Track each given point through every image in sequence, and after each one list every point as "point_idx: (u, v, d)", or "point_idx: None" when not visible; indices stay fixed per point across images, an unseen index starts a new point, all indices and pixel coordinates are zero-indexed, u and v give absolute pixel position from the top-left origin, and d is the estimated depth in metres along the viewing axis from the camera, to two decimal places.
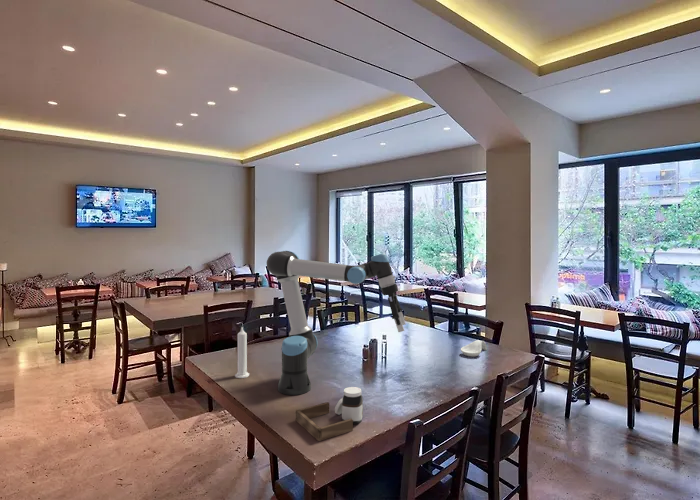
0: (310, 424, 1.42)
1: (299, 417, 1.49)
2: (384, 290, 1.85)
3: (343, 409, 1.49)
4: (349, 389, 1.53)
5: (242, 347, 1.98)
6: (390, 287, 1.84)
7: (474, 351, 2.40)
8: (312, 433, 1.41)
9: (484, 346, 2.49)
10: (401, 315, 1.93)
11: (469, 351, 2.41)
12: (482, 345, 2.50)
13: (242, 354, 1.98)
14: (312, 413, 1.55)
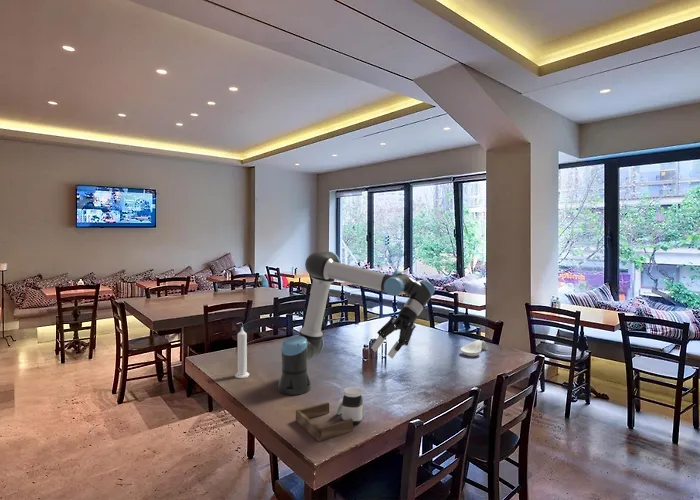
0: (310, 424, 1.42)
1: (299, 417, 1.49)
2: (411, 312, 1.66)
3: (343, 409, 1.49)
4: (349, 389, 1.53)
5: (242, 347, 1.98)
6: (416, 316, 1.68)
7: (474, 351, 2.41)
8: (312, 433, 1.41)
9: (485, 346, 2.49)
10: (381, 342, 1.69)
11: (469, 351, 2.42)
12: (483, 345, 2.50)
13: (242, 354, 1.98)
14: (312, 413, 1.55)
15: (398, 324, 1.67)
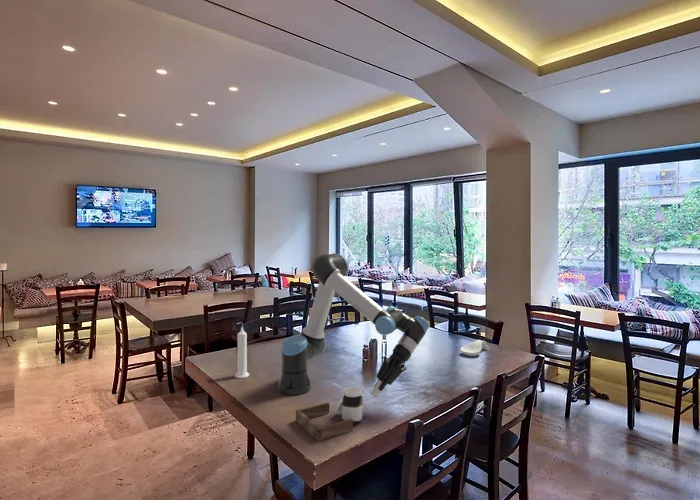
0: (310, 424, 1.42)
1: (299, 417, 1.49)
2: (404, 350, 1.65)
3: (343, 409, 1.49)
4: (349, 389, 1.53)
5: (242, 347, 1.98)
6: (410, 354, 1.66)
7: (474, 351, 2.41)
8: (312, 433, 1.41)
9: (485, 346, 2.49)
10: None
11: (469, 351, 2.42)
12: (483, 345, 2.50)
13: (242, 354, 1.98)
14: (312, 413, 1.55)
15: (392, 362, 1.66)
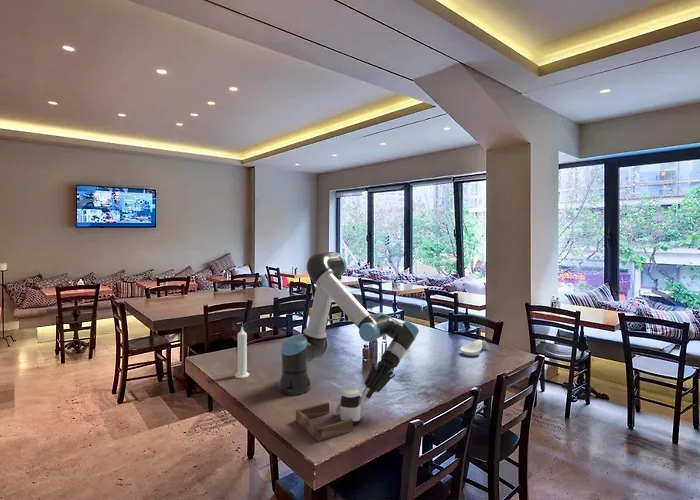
0: (310, 424, 1.42)
1: (299, 417, 1.49)
2: (393, 356, 1.61)
3: (342, 410, 1.48)
4: (347, 389, 1.53)
5: (242, 347, 1.98)
6: (399, 360, 1.62)
7: (474, 350, 2.42)
8: (312, 433, 1.41)
9: (486, 346, 2.49)
10: None
11: (469, 350, 2.43)
12: (484, 345, 2.50)
13: (242, 354, 1.98)
14: (312, 413, 1.55)
15: (380, 369, 1.62)
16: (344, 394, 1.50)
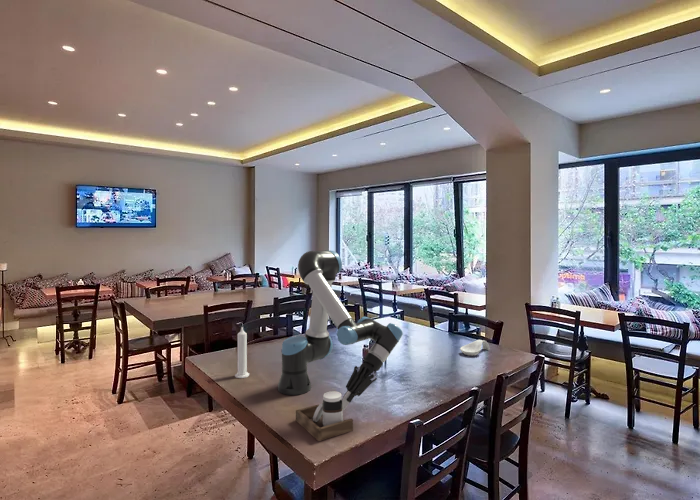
0: (310, 424, 1.42)
1: (299, 417, 1.49)
2: (375, 359, 1.57)
3: (326, 416, 1.43)
4: (328, 394, 1.48)
5: (242, 347, 1.98)
6: (381, 363, 1.58)
7: (474, 350, 2.42)
8: (312, 433, 1.41)
9: (486, 346, 2.49)
10: None
11: (469, 350, 2.43)
12: (484, 345, 2.50)
13: (242, 354, 1.98)
14: (312, 413, 1.55)
15: (362, 372, 1.58)
16: (327, 399, 1.45)
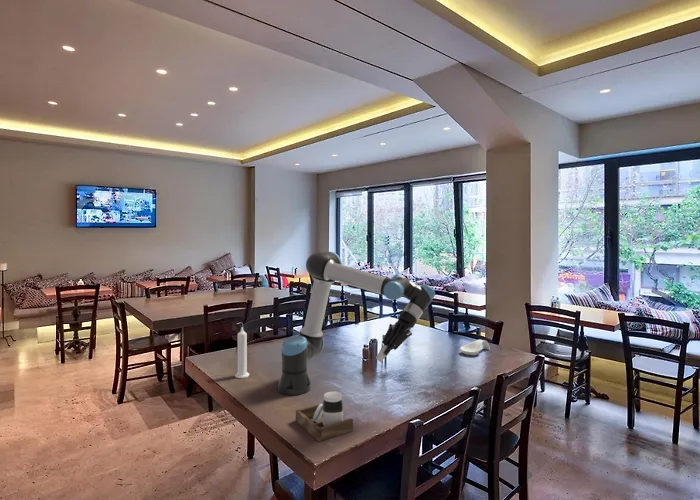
0: (310, 424, 1.42)
1: (299, 417, 1.49)
2: (410, 316, 1.66)
3: (326, 416, 1.43)
4: (329, 394, 1.48)
5: (242, 347, 1.98)
6: (415, 320, 1.67)
7: (474, 350, 2.42)
8: (312, 433, 1.41)
9: (487, 346, 2.49)
10: None
11: (469, 350, 2.44)
12: (485, 345, 2.50)
13: (242, 354, 1.98)
14: (312, 413, 1.55)
15: (397, 328, 1.67)
16: (327, 399, 1.45)
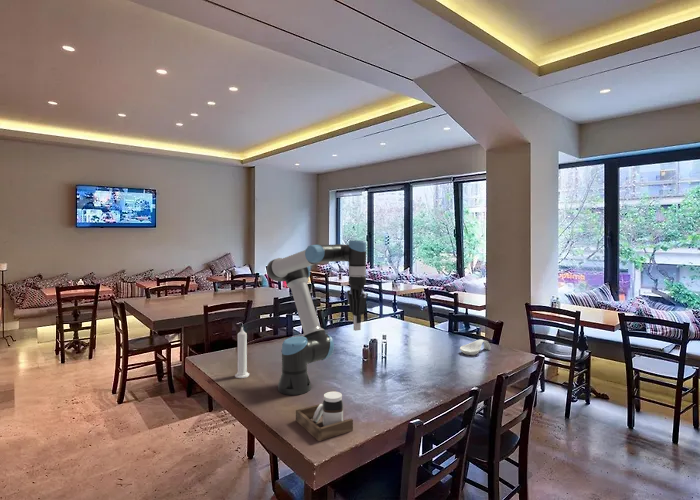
0: (310, 424, 1.42)
1: (299, 417, 1.49)
2: (357, 280, 1.67)
3: (326, 416, 1.43)
4: (329, 394, 1.48)
5: (242, 347, 1.98)
6: (364, 278, 1.69)
7: (474, 350, 2.43)
8: (312, 433, 1.41)
9: (487, 346, 2.49)
10: None
11: (469, 350, 2.44)
12: (486, 345, 2.50)
13: (242, 354, 1.98)
14: (312, 413, 1.55)
15: (354, 294, 1.71)
16: (327, 399, 1.45)
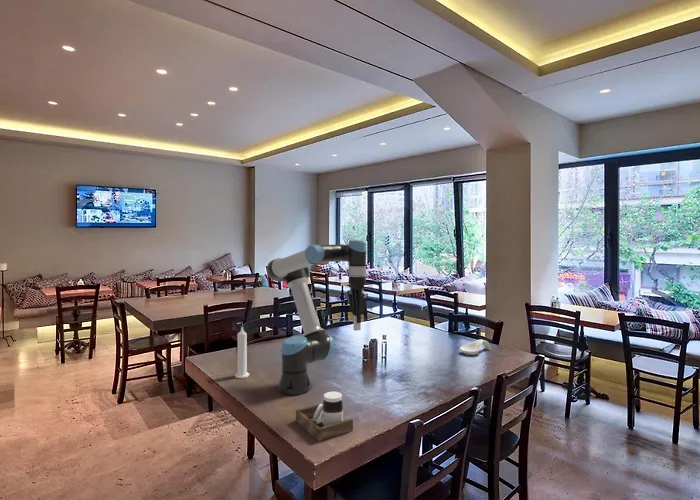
0: (310, 424, 1.42)
1: (299, 417, 1.49)
2: (357, 280, 1.67)
3: (326, 416, 1.43)
4: (329, 394, 1.48)
5: (242, 347, 1.98)
6: (364, 278, 1.69)
7: (474, 350, 2.43)
8: (312, 433, 1.41)
9: (488, 346, 2.49)
10: None
11: (469, 350, 2.44)
12: (486, 345, 2.50)
13: (242, 354, 1.98)
14: (312, 413, 1.55)
15: (354, 294, 1.71)
16: (327, 399, 1.45)
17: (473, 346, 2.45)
